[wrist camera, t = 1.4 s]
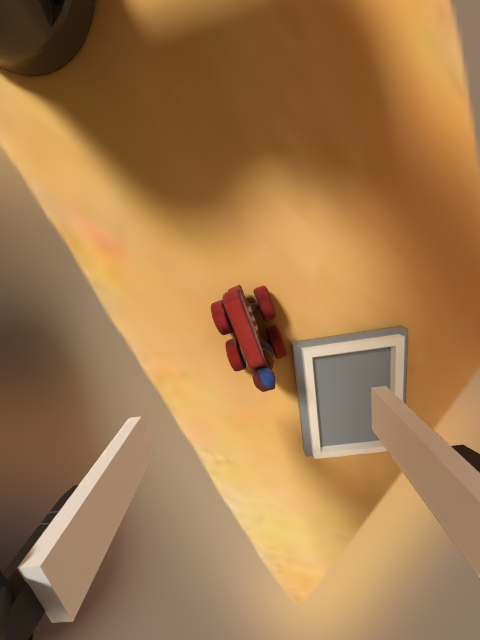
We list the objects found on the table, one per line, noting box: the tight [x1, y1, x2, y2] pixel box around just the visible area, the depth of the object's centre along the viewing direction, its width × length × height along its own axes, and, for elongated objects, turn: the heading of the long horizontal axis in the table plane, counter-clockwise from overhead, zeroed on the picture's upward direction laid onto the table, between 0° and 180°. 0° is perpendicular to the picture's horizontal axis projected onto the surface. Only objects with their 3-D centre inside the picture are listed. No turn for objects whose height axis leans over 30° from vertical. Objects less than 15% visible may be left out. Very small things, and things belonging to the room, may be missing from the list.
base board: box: [291, 326, 408, 459], centre depth 30 cm, size 18×14×2 cm
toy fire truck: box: [211, 285, 287, 392], centre depth 24 cm, size 7×12×10 cm, turn 19°
